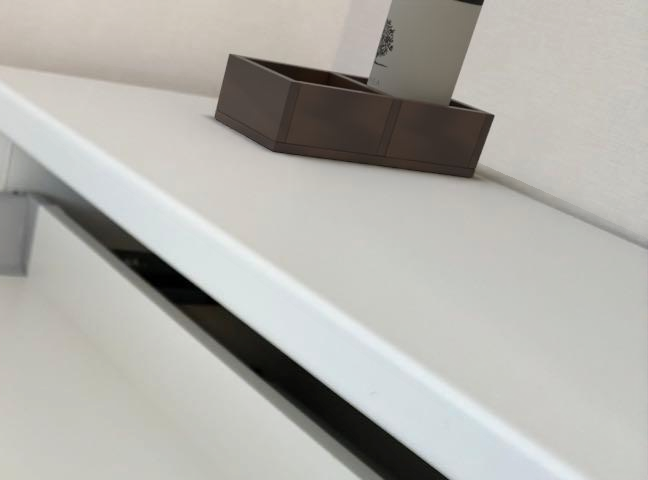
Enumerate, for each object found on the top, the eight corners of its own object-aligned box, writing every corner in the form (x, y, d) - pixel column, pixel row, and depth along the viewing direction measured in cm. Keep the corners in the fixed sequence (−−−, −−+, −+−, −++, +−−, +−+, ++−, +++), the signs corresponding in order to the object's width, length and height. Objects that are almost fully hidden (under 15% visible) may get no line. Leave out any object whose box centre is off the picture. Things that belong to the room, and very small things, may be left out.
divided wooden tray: (402, 145, 114) (421, 86, 111) (472, 177, 105) (495, 115, 102) (213, 118, 105) (228, 53, 102) (272, 151, 96) (291, 81, 93)
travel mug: (431, 147, 109) (499, -54, 100) (433, 160, 103) (505, -54, 94) (353, 128, 110) (413, -73, 101) (350, 139, 103) (414, -75, 94)
